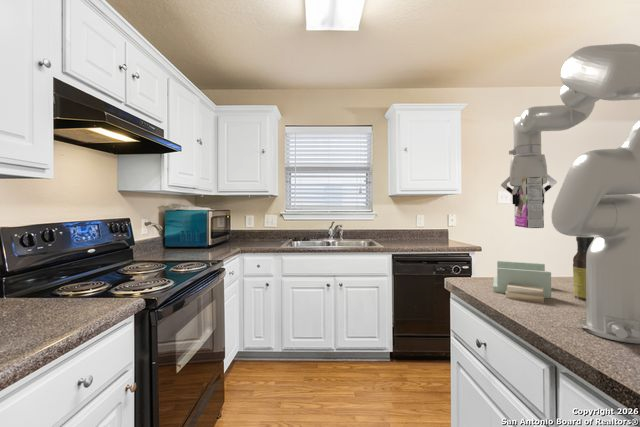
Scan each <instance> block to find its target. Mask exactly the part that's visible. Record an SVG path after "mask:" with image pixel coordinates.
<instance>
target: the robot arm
mask: <svg viewBox="0 0 640 427" xmlns="http://www.w3.org/2000/svg"><path fill="white" fill-rule="evenodd" d="M560 81H561V83H562V84H563V85H562V87H561V88H560V91H559V95H560V99H561V102H562V103H563V105H562V104H561V105H559V104H558V105H539V106H531V107H529V108H528V107H527V109H525V110H524V111H523V113H522V114H520V115H518V116H517V117H514V120H513V149H511V150H509V151H508V155H511V156H513V157H511V159H510V166H509V175H508V177H507V178H506V179H505V180H504V181H503V182H502V183H501V184H500V187H502V188H503V189H505V190H506V191H507V192H508V193H510V194H511V195H512V200H511V201H512V205H514V204H515V207H517V206H518V195H517V193H516V192H517V190H518V188H519V186H522V179H523V178H529V177H543V185H546V184H547V183H549V184H547V185H546V186H543V205H544V204H545V194H546V193H548V191H550V189H551V188H552V187H554V186H555V185H557V183H558V181H557V180H555V179H554V178H553V177H552V176H550V174H548V167H547V159H546V155H545V154H544V153H542V132H559V131H566V130H569V129H571V128H574V127H576V126H577V125H579V124H581V123H583V122H584V121H586V120H587V119H588V118H589V117H590V115H591V114H592V112H593V110H594V108H595V106H596V102H598V101H599V100H601V101H608V102H609V101H612V102H614V101H615V102H616V101H632V100H633V101H634V100H637V101H639V100H640V45H638V44H634V43H614V44H599V45H586V46H583V47H581V48H579V49H577V50H575V51H574V52H573V53H572V54H570V55H569V56H568V57H567V59H566V60H565V61H564V63H563V65H562V66H561V70H560ZM621 144H622V145H620V146H619V147H617V148H602V149H595V150H594V149H593V150H590V151H587V152H585V153H582V154H581V155H579V156H578V157H577V158H576V159H575V160H574V161H572V164H571V165H570V167H569V169H568V171H567V173H566V175H565V177H564V180H563V182H562V183H561V184H562V185H561V187H560V189H559V191H558V194H557V197H556V200H555V202H554V204H553V207H552V210H551V223H552V226H553V227H554V229H555V230H556V232H558V233H560V234H561V235H564V236H569V237H577V236H592V237H594V239H593V241H592V242H591V244H590V246H589V248H588V250H587V255H586V301H585V302H586V317H582V318H579V319H578V323H579V324H580V325H581V326H583V327H580V329H582V330H583V331H585V332H587V333H589V334H592V335H594V336H596V337H597V336H598V337H600V338H604V339H606V340H611V341H616V342H622V343H629V344H640V196H636V195H640V117H639V118H638V119H637V120H636V121H635V123H634V124H633V125H632V126H631V129H630V130H629V132H628V134H627V136H626V138H625V140H624V142H622V143H621ZM508 183H509V185H510V186H511V187H513V188H511V187H510V186H509V185H508Z"/></svg>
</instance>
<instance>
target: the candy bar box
mask: <svg viewBox="0 0 640 427" xmlns="http://www.w3.org/2000/svg"><path fill="white" fill-rule="evenodd" d="M543 187H544V184H543V177H529V178H523V179H522V186H519V188H518V190H517V192H516V193H517V195H518V206H517V207H515V204H513V205H514V206H513V207H514V226H515V227H519V228H527V229H544V227H545V224H544V222H545V220H544V219H545V218H544V216H545V215H544V214H545V212H544V204H543Z"/></svg>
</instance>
